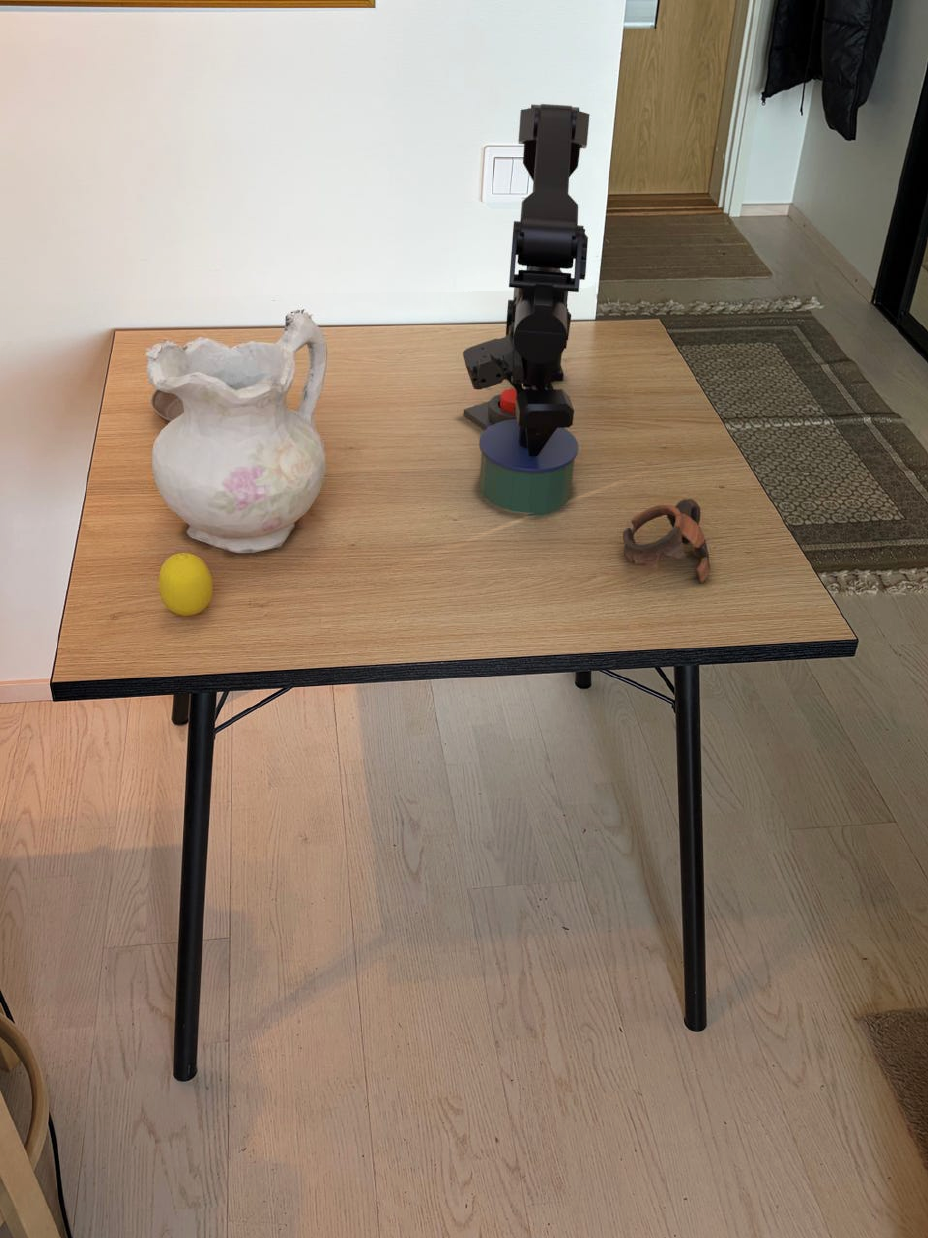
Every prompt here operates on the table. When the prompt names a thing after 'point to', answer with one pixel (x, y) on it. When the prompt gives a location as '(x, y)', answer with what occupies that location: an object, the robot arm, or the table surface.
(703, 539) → the broken clay ring
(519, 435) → the lid
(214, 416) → the ceramic pitcher
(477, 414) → the switch block
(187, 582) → the lemon
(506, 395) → the button
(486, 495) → the pot
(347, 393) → the table surface
